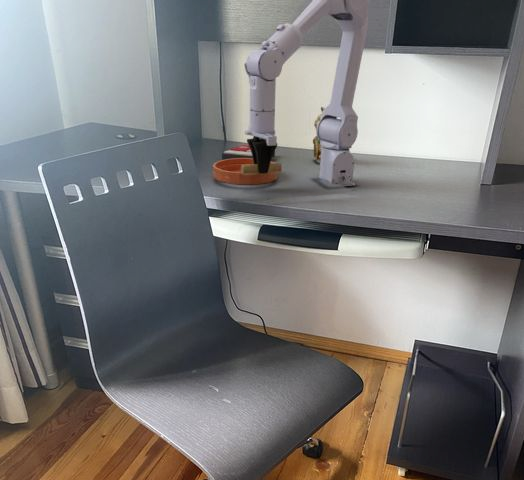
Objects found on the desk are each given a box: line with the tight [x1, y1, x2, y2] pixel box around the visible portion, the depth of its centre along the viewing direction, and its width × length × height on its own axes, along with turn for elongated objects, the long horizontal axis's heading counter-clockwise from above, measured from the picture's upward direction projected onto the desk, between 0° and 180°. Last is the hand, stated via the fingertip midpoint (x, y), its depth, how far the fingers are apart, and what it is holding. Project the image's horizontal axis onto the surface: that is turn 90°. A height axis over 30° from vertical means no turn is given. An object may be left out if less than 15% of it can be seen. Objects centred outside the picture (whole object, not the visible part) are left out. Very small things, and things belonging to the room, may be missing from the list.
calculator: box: [221, 144, 276, 160], centre depth 158 cm, size 11×4×15 cm
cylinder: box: [241, 162, 283, 175], centre depth 128 cm, size 10×2×2 cm, turn 109°
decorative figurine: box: [312, 106, 326, 164], centre depth 158 cm, size 10×8×15 cm
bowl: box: [212, 158, 279, 186], centre depth 141 cm, size 17×17×4 cm
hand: (261, 171), depth 129 cm, fingers closed on cylinder, 2 cm apart
